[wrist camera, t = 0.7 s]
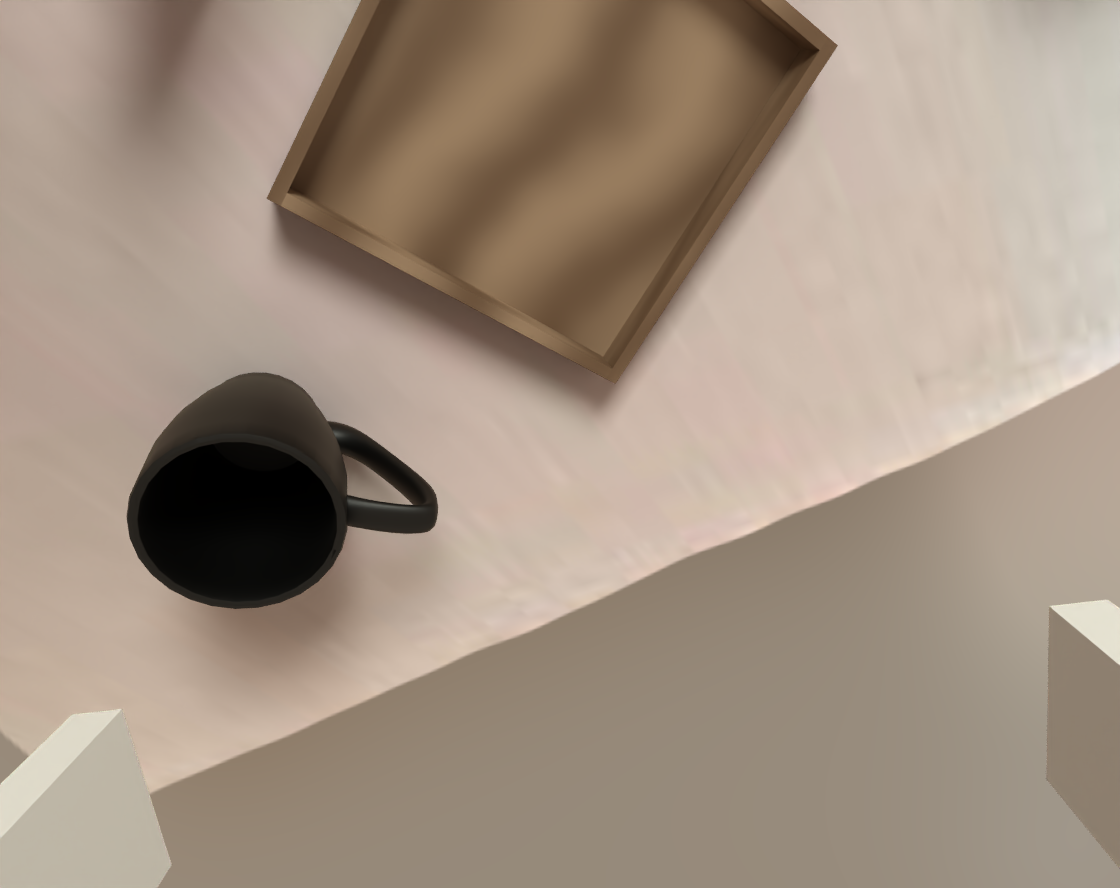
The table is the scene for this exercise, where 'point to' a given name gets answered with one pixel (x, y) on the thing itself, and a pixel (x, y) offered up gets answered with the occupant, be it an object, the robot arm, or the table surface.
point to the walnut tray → (549, 150)
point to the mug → (259, 495)
